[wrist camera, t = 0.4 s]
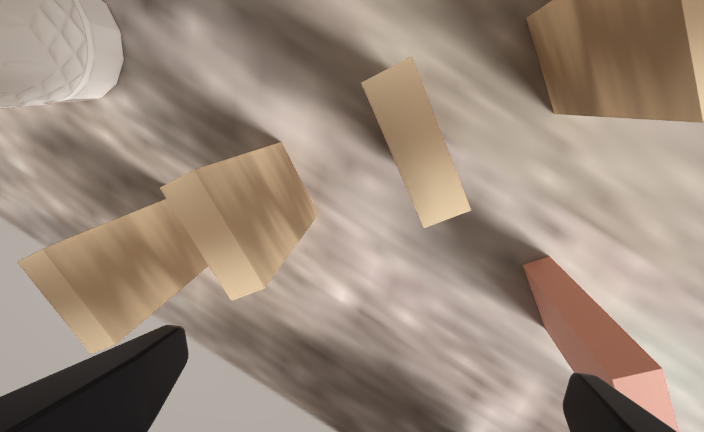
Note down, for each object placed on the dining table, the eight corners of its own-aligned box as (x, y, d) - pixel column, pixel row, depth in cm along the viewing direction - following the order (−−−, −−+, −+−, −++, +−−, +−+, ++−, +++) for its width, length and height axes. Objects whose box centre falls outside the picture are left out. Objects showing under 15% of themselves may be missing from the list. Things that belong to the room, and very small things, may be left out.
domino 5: (570, 321, 21) (687, 467, 13) (545, 328, 21) (641, 474, 13) (549, 256, 20) (662, 368, 11) (522, 264, 20) (611, 379, 12)
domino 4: (586, 100, 17) (774, 95, 8) (554, 113, 17) (703, 122, 9) (560, 0, 16) (749, -121, 7) (526, 18, 16) (667, -78, 8)
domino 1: (219, 256, 23) (115, 344, 14) (201, 263, 23) (90, 354, 15) (180, 193, 22) (42, 248, 13) (162, 202, 22) (17, 261, 14)
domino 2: (318, 214, 21) (264, 288, 12) (297, 223, 21) (231, 300, 13) (281, 141, 20) (194, 169, 11) (259, 153, 20) (159, 187, 12)
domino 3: (438, 163, 19) (471, 210, 10) (412, 174, 19) (423, 228, 11) (404, 79, 18) (411, 56, 9) (378, 92, 18) (361, 82, 10)
